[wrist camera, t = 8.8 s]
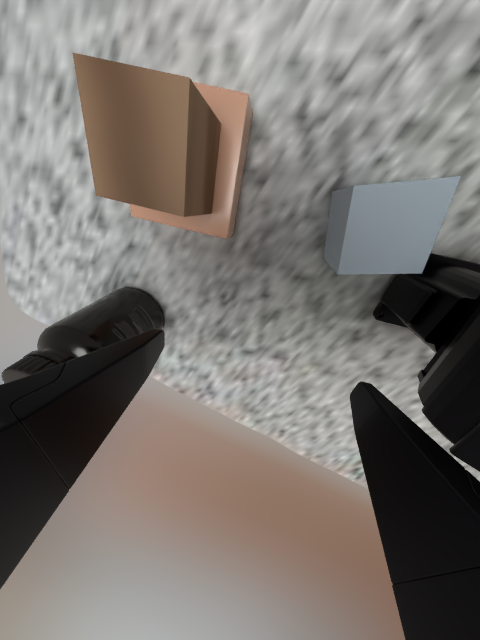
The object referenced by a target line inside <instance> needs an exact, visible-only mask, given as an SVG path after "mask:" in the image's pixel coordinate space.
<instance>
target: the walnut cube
mask: <svg viewBox="0 0 480 640" xmlns="http://www.w3.org/2000/svg"><path fill="white" fill-rule="evenodd" d="M73 58H74V64H75V70H76V76H77V82H78V88H79V95H80V101H81V107H82V113H83V119H84V125H85V131H86V137H87V143H88V149H89V156H90V162H91V168H92V174H93V180H94V186H95V192H96V196H100V197H105V198H109V199H113V200H117V201H121V202H125V203H129V204H133V205H137V206H141V207H145V208H149V209H153V210H157V211H161V212H165V213H170V214H174V215H178V216H182V217H188V216H197V215H206V214H212V204H213V195H214V186H215V177H216V167H217V158H218V149H219V140H220V131H221V122H220V121H219V119H218V118H217V117H216V115H215V114H214V112H213V111H212V109H211V108H210V106H209V105H208V104H207V102H206V101H205V99H204V98H203V96H202V95H201V93H200V92H199V91H198V89H197V88H196V86H195V85H194V83H193V82H192V80H191V79H190V78H188V77H184V76H179V75H174V74H170V73H165V72H160V71H156V70H151V69H146V68H142V67H137V66H132V65H128V64H123V63H118V62H114V61H109V60H104V59H100V58H95V57H90V56H86V55H81V54H76V53H73Z"/></svg>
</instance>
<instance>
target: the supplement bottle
mask: <svg viewBox="0 0 480 640" xmlns="http://www.w3.org/2000/svg"><path fill="white" fill-rule="evenodd" d="M162 327H163V315H162V312H161V310H160V308H159V306H158V305H157V303H156V302H155V301H154V300H153V299H152V298H151V297H150V296H148V295H147V294H145V293H144V292H142V291H139V290H137V289H132V288H122V289H119V290H116V291H114V292H112V293H110V294H108V295H107V296H105V297H103V298H101V299H99V300H97V301H95V302H93V303H92V304H90V305H88V306H86V307H84V308H82V309H80V310H79V311H77V312H75V313H73V314H71V315H69V316H67V317H66V318H64V319H62V320H60V321H58V322H56V323H54V324H53V325H51V326H49V327H48V328H46V329H45V330H44V332H42V334H41V335H40V337H39V340H38V344H37V345H38V346H37V347H38V350H37V351H32V352H31V353H29V354H27V355H26V356H24V357H23V359H21V360H19V361H18V362H16V363H14V364H13V365H11V366H9V367H8V368H7V369H5V370H4V371H3V372H2V378H3V379H2V380H3V381H4V383H8V382H11V381H14V380H17V379H20V378H23V377H26V376H29V375H32V374H35V373H37V372H40V371H43V370H46V369H48V368H51V367H54V366H56V365H59V364H62V363H64V362H66V363H67V361H70V360H72V359H75V358H78V357H80V356H83V355H85V354H88V353H91V352H93V351H96V350H99V349H101V348H104V347H106V346H109V345H112V344H114V343H117V342H120V341H122V340H125V339H127V338H130V337H133V336H135V335H138V334H141V333H143V332H146V331H148V330H151V329H154V328H157V329H160V330H161V329H162Z"/></svg>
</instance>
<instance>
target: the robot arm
mask: <svg viewBox="0 0 480 640" xmlns="http://www.w3.org/2000/svg"><path fill="white" fill-rule="evenodd" d="M381 313H382V315H380V316H378V315H379V314H381ZM373 316H374V318H375V319H376V320H379V321H383V322H387V323H391V324H396V325H400V326H404V327H408V328H409V329H410V330H412V331H413V332H414V333H415V334H416V335H417V336H418V337H419V338H420V339H421V340H422V341H424V342H425V343H426V344H427V345H428V346H429V347H430V348H431V349H432V350H433V351H434V352H436V354H435V355H434V357H433V358H432V360H431V361H430V362H429V364H428V365H427V366H426V368H425V369H424V370H421V371H420V373H419V374H418V378H419V382H420V384H419V388H418V394H419V397H420V399H421V402H422V404H423V406H424V407H423V408H422V412H423V414H424V415H425V416H426V417H427V419H428V420H429V421H430V422H431V424H432V425H433V426H434V427H435V428H436V429H437V430H438V431H439V432H440V433H441V434H442V435H443V436H444V437H445V438H446V439H448V440H449V441H450V442H451V443H453V444H454V445H453V446H452V447H451V448H450V449H449V450H450V452H451V453H452V454H453V455H454V456H456V457H457V458H459V459H460V460H462V461H464V462H465V463H467V464H468V465H470V466H472V467H473V468H475V469H476V470H478V471H479V472H480V264H475V263H471V262H467V261H463V260H458V259H454V258H450V257H445V256H441V255H437V254H432V253H430V255H429V257H428V260H427V262H426V265H425V267H424V270H423V272H422V273H418V274H398V275H397V276H396V277H395V279H394V280H393V282H392V283H391V285H390V286H389V288H388V289H387V291H386V293H385V294H384V296H383V297H382V299H381V302H380V304H379V305H378V307H377V308H376V310H375V311H374V313H373ZM164 344H165V343H164V331H163V330H160V329H157V328H154V329H151V330H148V331H146V332H143V333H141V334H138V335H135V336H133V337H130V338H127V339H125V340H122V341H120V342H117V343H114V344H112V345H109V346H106V347H104V348H101V349H99V350H96V351H93V352H91V353H88V354H85V355H83V356H80V357H78V358H75V359H72V360H70V361H67V363H66V362H64V363H62V364H59V365H56V366H54V367H51V368H48V369H46V370H43V371H40V372H37V373H35V374H32V375H29V376H26V377H23V378H20V379H17V380H14V381H11V382H8V383H5V384H2V385H0V589H1V587H2V586H3V585H4V583H5V582H6V580H7V579H8V577H9V576H10V575H11V573H12V572H13V570H14V569H15V567H16V566H17V565H18V563H19V562H20V560H21V559H22V557H23V556H24V555H25V553H26V552H27V550H28V549H29V547H30V546H31V545H32V543H33V542H34V540H35V539H36V537H37V536H38V534H39V533H40V531H41V530H42V529H43V527H44V526H45V524H46V523H47V521H48V520H49V519H50V517H51V516H52V514H53V513H54V511H55V510H56V509H57V507H58V506H59V504H60V503H61V501H62V500H63V498H64V497H65V496H66V494H67V493H68V491H69V489H70V488H71V487H72V485H73V484H74V483H75V481H76V479H77V478H78V477H79V475H80V474H81V473H82V471H83V470H84V468H85V467H86V465H87V464H88V462H89V461H90V459H91V458H92V457H93V455H94V454H95V452H96V451H97V450H98V448H99V446H100V445H101V444H102V442H103V441H104V439H105V438H106V436H107V435H108V434H109V432H110V431H111V429H112V428H113V426H114V425H115V424H116V422H117V421H118V419H119V418H120V417H121V415H122V413H123V412H124V411H125V409H126V408H127V407H128V405H129V404H130V402H131V401H132V399H133V398H134V396H135V395H136V394H137V392H138V391H139V389H140V388H141V386H142V385H143V384H144V382H145V381H146V379H147V377H148V376H149V374H150V373H151V371H152V369H153V367H154V365H155V363H156V361H157V360H158V358H159V356H160V354H161V352H162V350H163V348H164ZM350 402H351V410H352V417H353V424H354V430H355V435H356V440H357V444H358V448H359V452H360V456H361V460H362V464H363V468H364V472H365V476H366V480H367V484H368V488H369V492H370V497H371V500H372V505H373V508H374V513H375V517H376V521H377V525H378V529H379V533H380V537H381V541H382V545H383V549H384V553H385V557H386V562H387V566H388V570H389V574H390V578H391V582H392V583H393V585H392V587H393V591H394V595H395V599H396V603H397V607H398V611H399V615H400V619H401V623H402V627H403V631H404V635H405V639H406V640H480V482H479V481H478V480H477V479H476V478H475V477H474V476H473V475H472V474H471V473H470V472H468V471H467V470H465V468H464V467H463V466H462V465H461V464H459V463H458V462H457V461H456V460H455V459H454V458H453V457H452V456H451V455H449V454H448V453H447V452H446V451H445V450H444V449H443V448H442V447H441V446H439V445H438V444H437V443H436V442H435V441H434V440H433V439H432V438H431V437H430V436H428V435H427V434H426V433H425V432H424V431H423V430H422V429H421V428H420V427H418V426H417V425H416V424H415V423H414V422H413V421H412V420H411V419H410V418H408V417H407V416H406V415H405V414H404V413H403V412H402V411H401V410H400V409H398V408H397V407H396V406H395V405H394V404H393V403H392V402H391V401H390V400H388V399H387V398H386V397H385V396H384V395H383V394H382V393H381V392H380V391H379V390H377V389H376V388H375V387H374V386H373V385H372V384H370V383H366V382H359V383H358V384H357V386H356V387H355V388H354V389H353V391H352V392H351V394H350Z"/></svg>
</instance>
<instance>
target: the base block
mask: <svg viewBox="0 0 480 640" xmlns="http://www.w3.org/2000/svg"><path fill="white" fill-rule="evenodd" d="M193 83H194V85H195V86H196V88H197V89H198V91H199V92H200V93H201V95H202V96H203V98H204V99H205V101H206V102H207V104H208V105H209V106H210V108H211V109H212V111H213V112H214V114H215V115H216V117H217V118H218V119H219V121H220V122H221V131H220V140H219V149H218V158H217V167H216V177H215V186H214V195H213V204H212V214H206V215H197V216H188V217H182V216H178V215H174V214H170V213H165V212H161V211H157V210H153V209H149V208H145V207H141V206H137V205H133V204H130V208H131V216H133V217H137V218H141V219H145V220H149V221H154V222H158V223H162V224H166V225H170V226H175V227H179V228H183V229H187V230H191V231H195V232H200V233H204V234H208V235H212V236H216V237H221V238H225V239H228V238H229V237H231V236H232V235H233V231H234V225H235V219H236V213H237V207H238V201H239V195H240V188H241V182H242V176H243V170H244V164H245V158H246V152H247V145H248V139H249V133H250V127H251V121H252V115H253V110H252V106H251V102H250V98H249V94H247V93H242V92H238V91H233V90H228V89H224V88H219V87H214V86H209V85H205V84H200V83H195V82H193Z"/></svg>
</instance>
